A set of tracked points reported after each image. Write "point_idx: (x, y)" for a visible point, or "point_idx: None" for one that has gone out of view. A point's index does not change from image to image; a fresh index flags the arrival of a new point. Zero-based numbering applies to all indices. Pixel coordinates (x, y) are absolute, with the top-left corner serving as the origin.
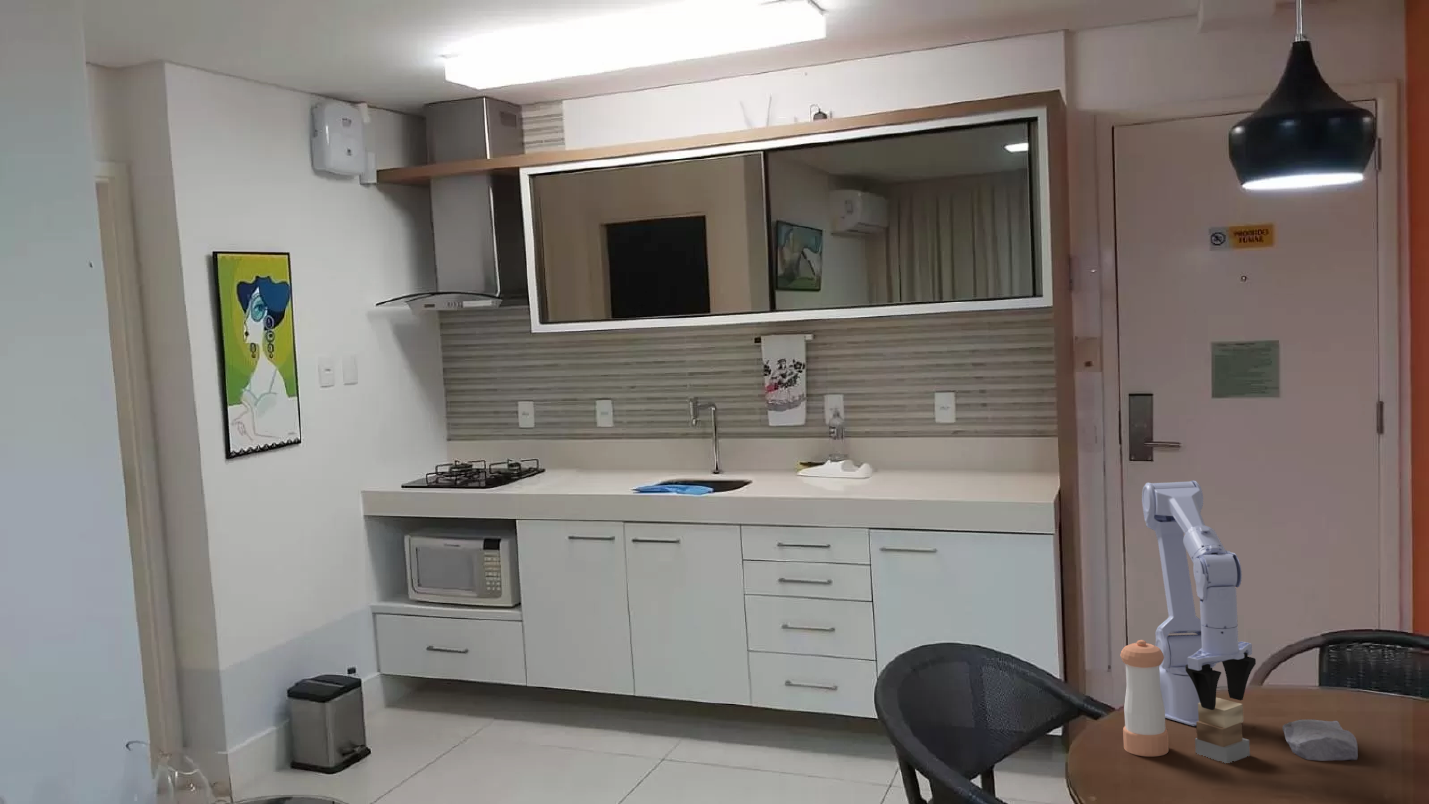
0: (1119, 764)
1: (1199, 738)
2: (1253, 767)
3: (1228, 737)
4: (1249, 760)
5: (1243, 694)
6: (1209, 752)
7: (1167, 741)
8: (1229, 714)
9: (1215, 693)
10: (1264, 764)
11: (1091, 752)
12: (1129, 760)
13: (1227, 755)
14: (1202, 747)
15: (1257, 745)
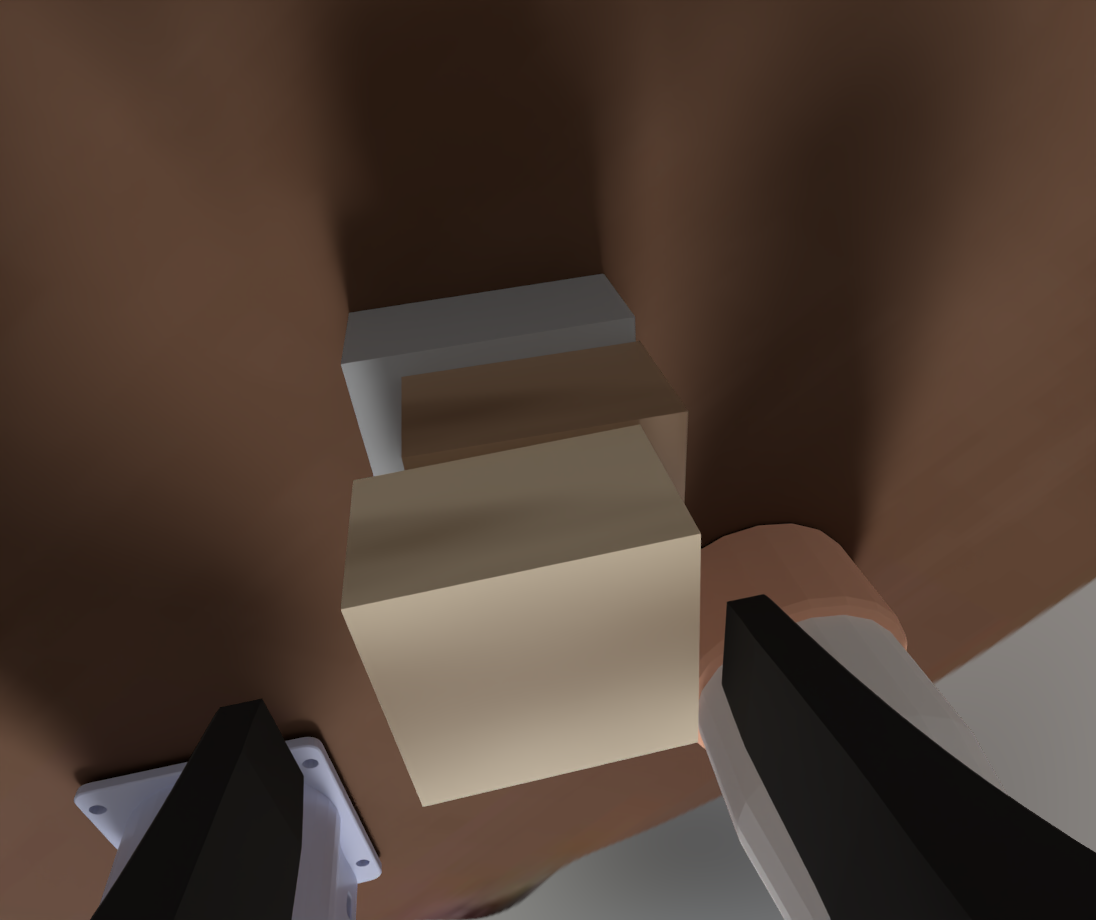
0: (1001, 516)
1: None
2: (506, 123)
3: (586, 380)
4: (421, 246)
5: (203, 758)
6: None
7: (732, 585)
8: (597, 509)
9: (859, 741)
10: (383, 123)
11: (937, 648)
12: (927, 534)
13: (610, 296)
14: None
15: (154, 427)
